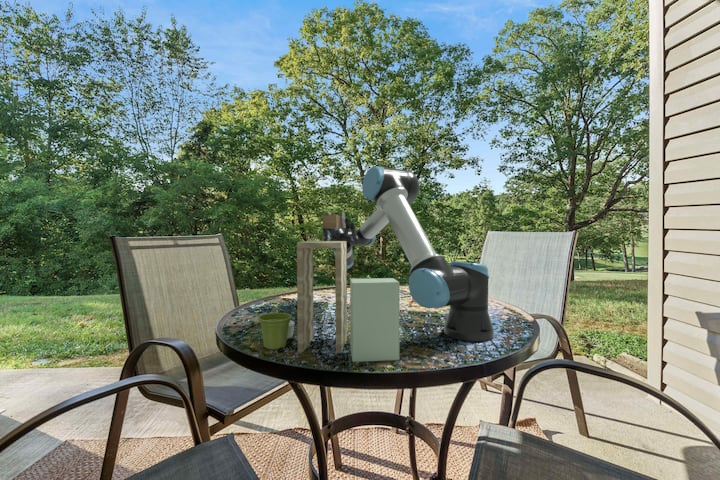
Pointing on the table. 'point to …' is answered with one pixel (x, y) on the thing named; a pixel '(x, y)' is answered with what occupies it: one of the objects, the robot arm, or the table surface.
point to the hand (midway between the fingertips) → (336, 215)
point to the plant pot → (275, 329)
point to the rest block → (374, 319)
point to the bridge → (307, 291)
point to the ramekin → (290, 329)
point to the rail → (332, 222)
